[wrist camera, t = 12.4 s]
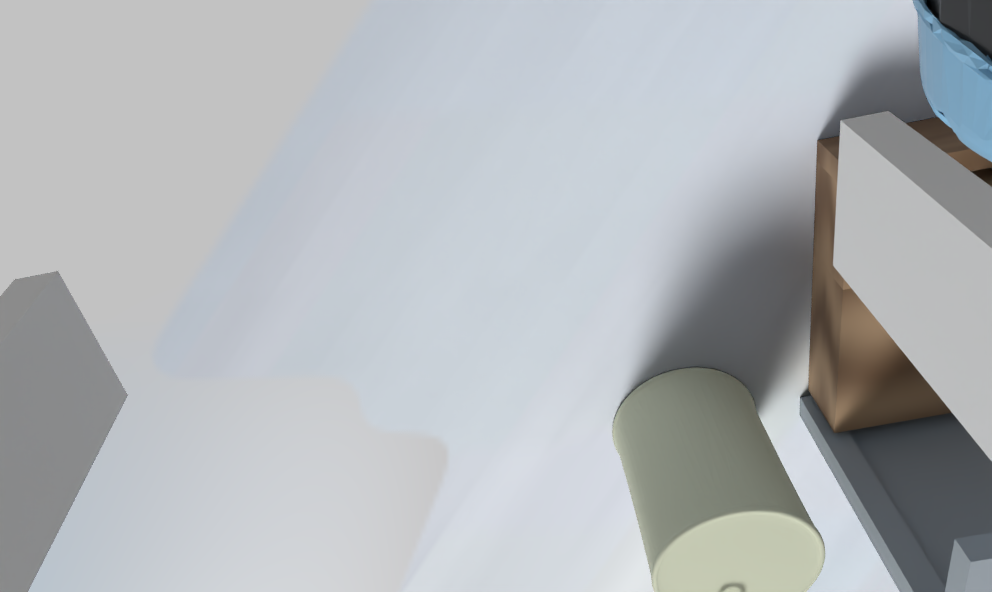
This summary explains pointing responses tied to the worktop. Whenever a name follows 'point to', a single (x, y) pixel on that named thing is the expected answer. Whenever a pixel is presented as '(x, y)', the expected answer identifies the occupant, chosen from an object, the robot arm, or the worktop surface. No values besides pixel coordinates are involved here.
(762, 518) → the can
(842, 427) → the socket block
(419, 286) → the worktop surface
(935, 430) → the grey open drawer
